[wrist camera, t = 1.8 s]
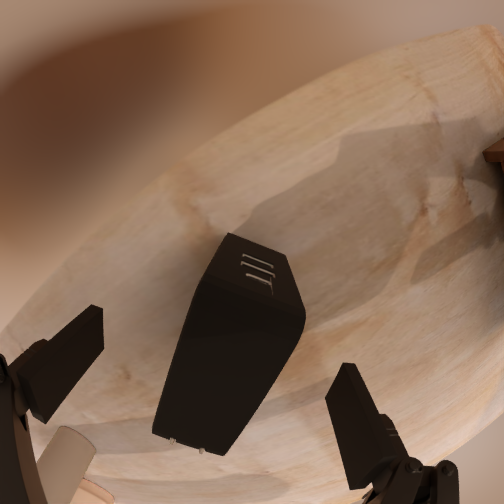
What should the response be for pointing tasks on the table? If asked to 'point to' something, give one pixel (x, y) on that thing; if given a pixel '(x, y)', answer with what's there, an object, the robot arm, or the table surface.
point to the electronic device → (230, 346)
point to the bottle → (64, 465)
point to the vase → (91, 494)
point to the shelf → (495, 153)
